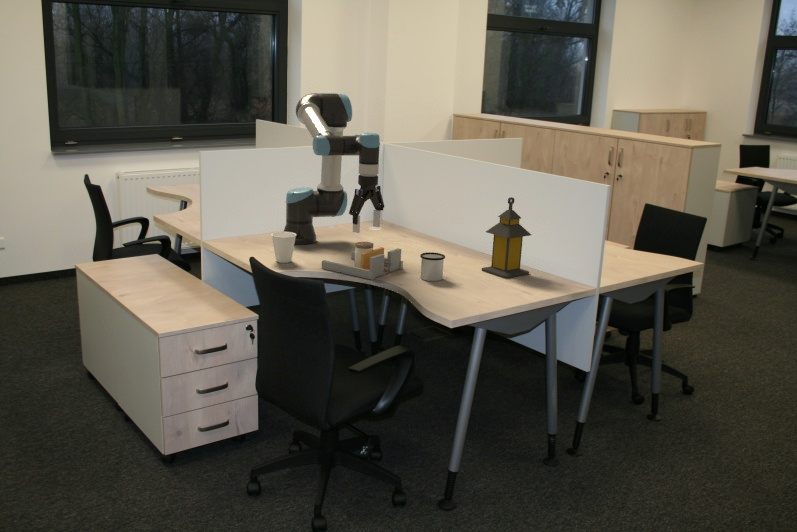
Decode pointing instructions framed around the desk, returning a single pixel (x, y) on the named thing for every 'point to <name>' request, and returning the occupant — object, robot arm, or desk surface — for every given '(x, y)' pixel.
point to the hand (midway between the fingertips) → (366, 229)
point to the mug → (432, 266)
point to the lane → (375, 265)
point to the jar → (361, 251)
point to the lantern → (507, 245)
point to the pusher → (366, 256)
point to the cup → (283, 246)
